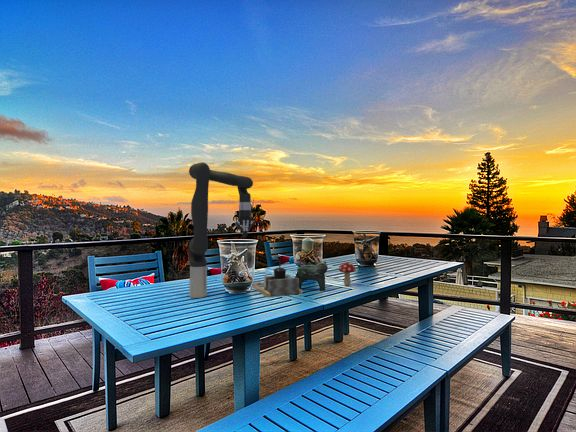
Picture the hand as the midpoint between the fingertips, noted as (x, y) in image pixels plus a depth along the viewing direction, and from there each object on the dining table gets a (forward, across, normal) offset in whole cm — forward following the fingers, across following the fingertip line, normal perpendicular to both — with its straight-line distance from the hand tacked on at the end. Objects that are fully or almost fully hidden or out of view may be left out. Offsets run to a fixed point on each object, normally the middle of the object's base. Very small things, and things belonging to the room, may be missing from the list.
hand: (245, 237), depth 214 cm
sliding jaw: (+32, +16, -15) cm, 39 cm away
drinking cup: (+32, +16, -19) cm, 41 cm away
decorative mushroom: (+32, +63, -19) cm, 73 cm away
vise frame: (+32, +16, -12) cm, 38 cm away
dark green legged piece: (+32, +36, -21) cm, 53 cm away
